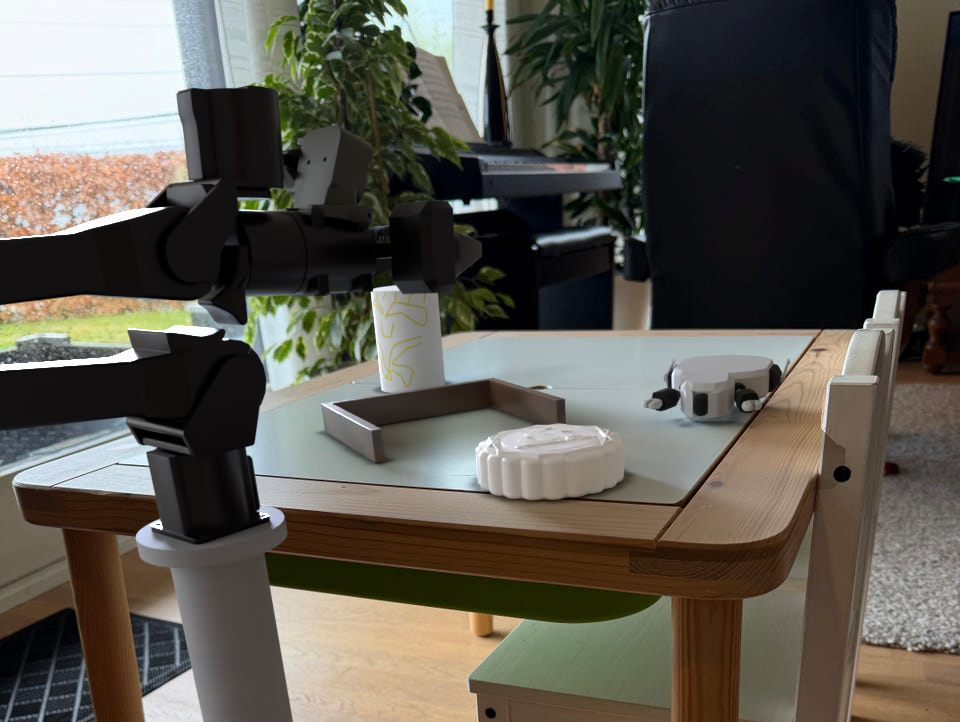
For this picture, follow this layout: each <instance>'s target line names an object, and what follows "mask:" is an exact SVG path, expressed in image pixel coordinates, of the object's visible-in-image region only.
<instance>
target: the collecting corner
mask: <svg viewBox="0 0 960 722" xmlns="http://www.w3.org/2000/svg"><path fill="white" fill-rule="evenodd" d="M320 405H321V413H322V420H323V428H324V433H326V434H327V435H329V436H331V437H332V438H334V439H336V440H337V441H339V442H340V443H343V444H344V445H345V446H347V447H349V448H350V449H352V450H354V451H355V452H357V453H358V454H360V455H362V456H363V457H365V458H367V459H368V460H370V461H372V462H373V463H375V464H377V463H383V462H386V457H385V455H386V453H385V447H384V438H383V437H384V436H383V429H382V428H381V427H378V426H382V425H389V424H395V423H402V422H407V421H413V420H420V419H426V418H432V417H438V416H444V415H450V414H451V415H452V414H457V413H463V412H469V411H475V410H481V409H487V408H493V409H496V410H498V411H501V412H504V413H507V414H509V415H512V416H515V417H518V418H521V419H522V420H526V421H529V422H532V423H535V424H536V425H552V424H567V411H566V398H563V397H560V396H557V395H554V394H550V393H547V392H543V391H540V390H536V389H533V388H530V387H526V386H523V385H521V384H520V385H519V384H516V383H512V382H509V381H506V380H502V379H500V378H496V377H489V378H483V379H482V378H481V379H475V380H470V381H469V380H467V381H461V382H456V383H449V384H445V385H442V386H435V387H428V388H422V389H415V390H408V391H402V392H395V393H383V394H376V395H370V396H369V395H368V396H362V397H356V398H350V399H343V400H336V401H330V402H324V403H323V402H322V403H321V404H320Z"/></svg>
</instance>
